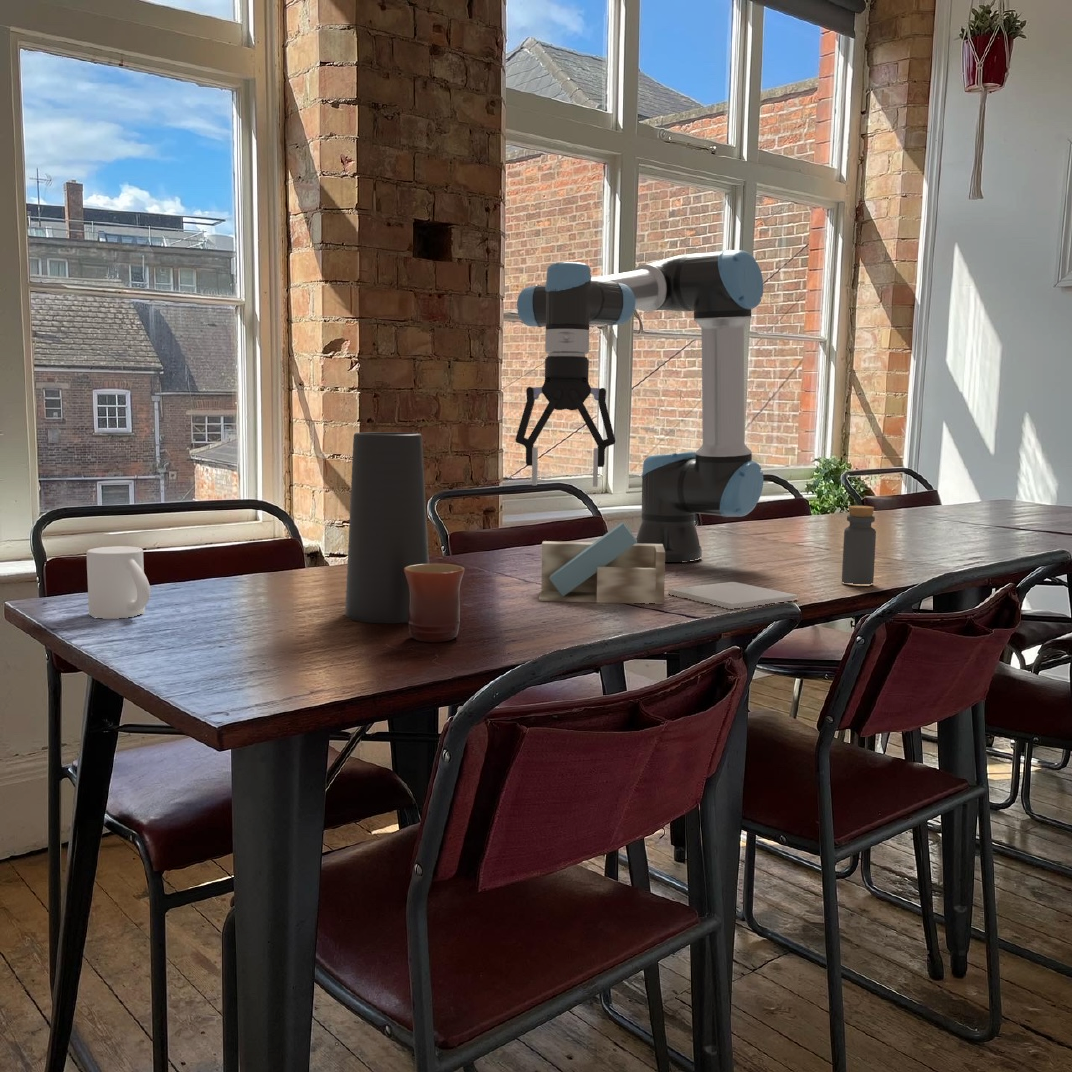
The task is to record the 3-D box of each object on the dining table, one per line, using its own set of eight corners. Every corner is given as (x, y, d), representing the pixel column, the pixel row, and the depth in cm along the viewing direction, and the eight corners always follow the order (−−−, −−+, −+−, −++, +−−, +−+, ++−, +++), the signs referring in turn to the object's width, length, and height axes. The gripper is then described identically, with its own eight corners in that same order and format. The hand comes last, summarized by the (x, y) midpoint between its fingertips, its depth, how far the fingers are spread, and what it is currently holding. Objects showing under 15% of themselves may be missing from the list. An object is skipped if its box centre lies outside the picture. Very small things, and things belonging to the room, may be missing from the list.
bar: (563, 596, 188) (549, 578, 188) (564, 592, 192) (550, 574, 192) (637, 542, 186) (623, 523, 186) (636, 539, 190) (622, 521, 190)
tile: (668, 594, 194) (668, 589, 194) (733, 586, 203) (733, 581, 203) (731, 609, 181) (731, 603, 181) (797, 600, 190) (797, 595, 189)
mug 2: (464, 644, 153) (465, 573, 152) (402, 645, 152) (402, 573, 151) (463, 626, 165) (463, 560, 163) (405, 627, 164) (405, 560, 163)
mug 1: (123, 544, 175) (168, 551, 168) (125, 607, 176) (170, 616, 169) (75, 549, 168) (120, 557, 161) (78, 615, 170) (122, 625, 163)
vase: (446, 611, 176) (447, 433, 173) (402, 627, 164) (401, 435, 160) (376, 603, 182) (375, 431, 178) (328, 618, 170) (325, 433, 166)
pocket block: (538, 601, 186) (539, 549, 185) (542, 590, 197) (543, 541, 195) (663, 604, 185) (665, 552, 184) (661, 593, 195) (662, 543, 194)
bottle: (873, 583, 209) (877, 506, 207) (872, 588, 204) (876, 508, 202) (842, 581, 211) (846, 504, 209) (840, 585, 205) (844, 507, 204)
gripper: (499, 354, 182) (498, 485, 185) (633, 355, 180) (629, 488, 183) (503, 355, 189) (502, 482, 192) (632, 357, 188) (629, 484, 191)
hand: (564, 485), depth 188 cm, fingers open, 10 cm apart
